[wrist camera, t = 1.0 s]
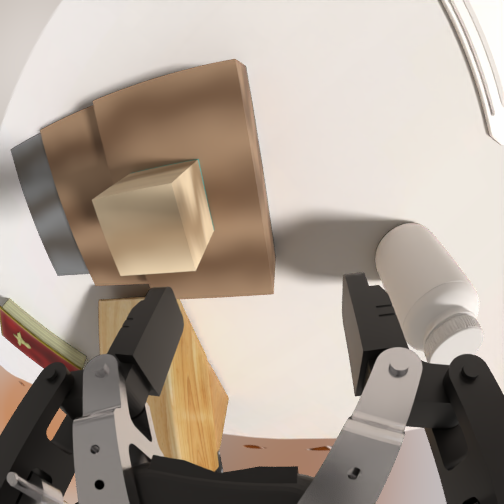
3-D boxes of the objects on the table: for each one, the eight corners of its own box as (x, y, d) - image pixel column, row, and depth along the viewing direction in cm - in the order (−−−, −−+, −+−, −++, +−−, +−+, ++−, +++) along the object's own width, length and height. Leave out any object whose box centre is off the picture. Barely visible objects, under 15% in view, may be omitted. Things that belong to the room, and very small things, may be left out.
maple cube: (130, 173, 22) (91, 200, 17) (198, 158, 22) (171, 183, 16) (150, 237, 25) (120, 275, 20) (214, 229, 24) (195, 270, 19)
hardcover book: (81, 377, 54) (74, 391, 50) (10, 324, 49) (1, 336, 46) (89, 355, 49) (80, 371, 45) (9, 294, 44) (-3, 307, 40)
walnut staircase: (13, 148, 28) (-21, 163, 23) (246, 66, 23) (235, 58, 17) (59, 273, 38) (36, 300, 32) (275, 256, 33) (273, 294, 27)
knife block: (190, 417, 55) (159, 547, 28) (106, 286, 38) (-7, 480, 12) (242, 419, 53) (221, 560, 26) (175, 279, 36) (70, 534, 9)
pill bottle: (390, 291, 34) (427, 392, 21) (361, 246, 31) (400, 351, 18) (443, 258, 31) (500, 348, 18) (420, 207, 28) (493, 293, 15)
